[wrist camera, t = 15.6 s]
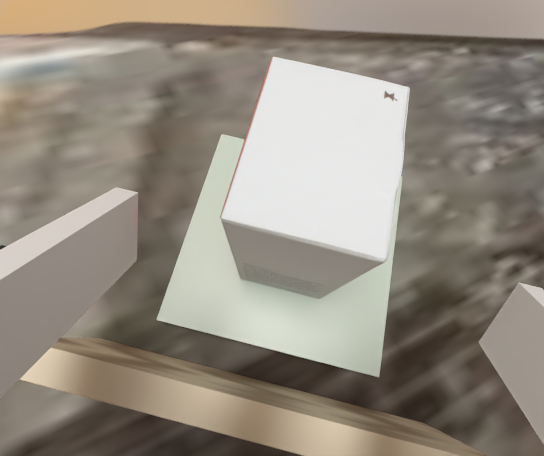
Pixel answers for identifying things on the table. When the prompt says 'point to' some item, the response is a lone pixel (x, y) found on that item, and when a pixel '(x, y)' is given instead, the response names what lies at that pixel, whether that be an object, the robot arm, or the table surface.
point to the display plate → (271, 292)
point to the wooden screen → (233, 403)
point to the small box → (316, 178)
